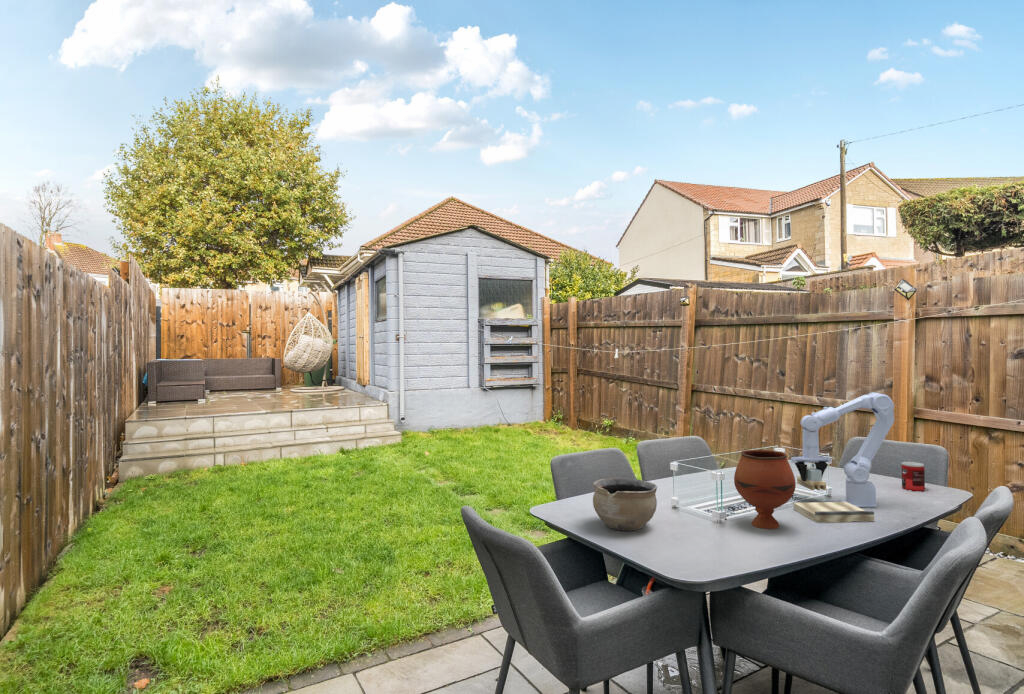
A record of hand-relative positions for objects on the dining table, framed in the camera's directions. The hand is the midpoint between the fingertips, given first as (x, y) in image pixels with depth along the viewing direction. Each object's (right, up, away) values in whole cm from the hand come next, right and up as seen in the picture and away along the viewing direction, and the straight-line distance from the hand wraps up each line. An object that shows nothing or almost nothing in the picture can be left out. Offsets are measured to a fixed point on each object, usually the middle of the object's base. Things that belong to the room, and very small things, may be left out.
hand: (811, 480), depth 219 cm
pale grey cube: (0, +1, -2) cm, 2 cm away
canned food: (+52, -8, +17) cm, 55 cm away
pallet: (0, -2, 0) cm, 2 cm away
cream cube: (0, +1, +2) cm, 2 cm away
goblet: (-31, -9, -27) cm, 42 cm away
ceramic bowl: (-79, -10, -26) cm, 84 cm away
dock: (-2, -8, -17) cm, 19 cm away
